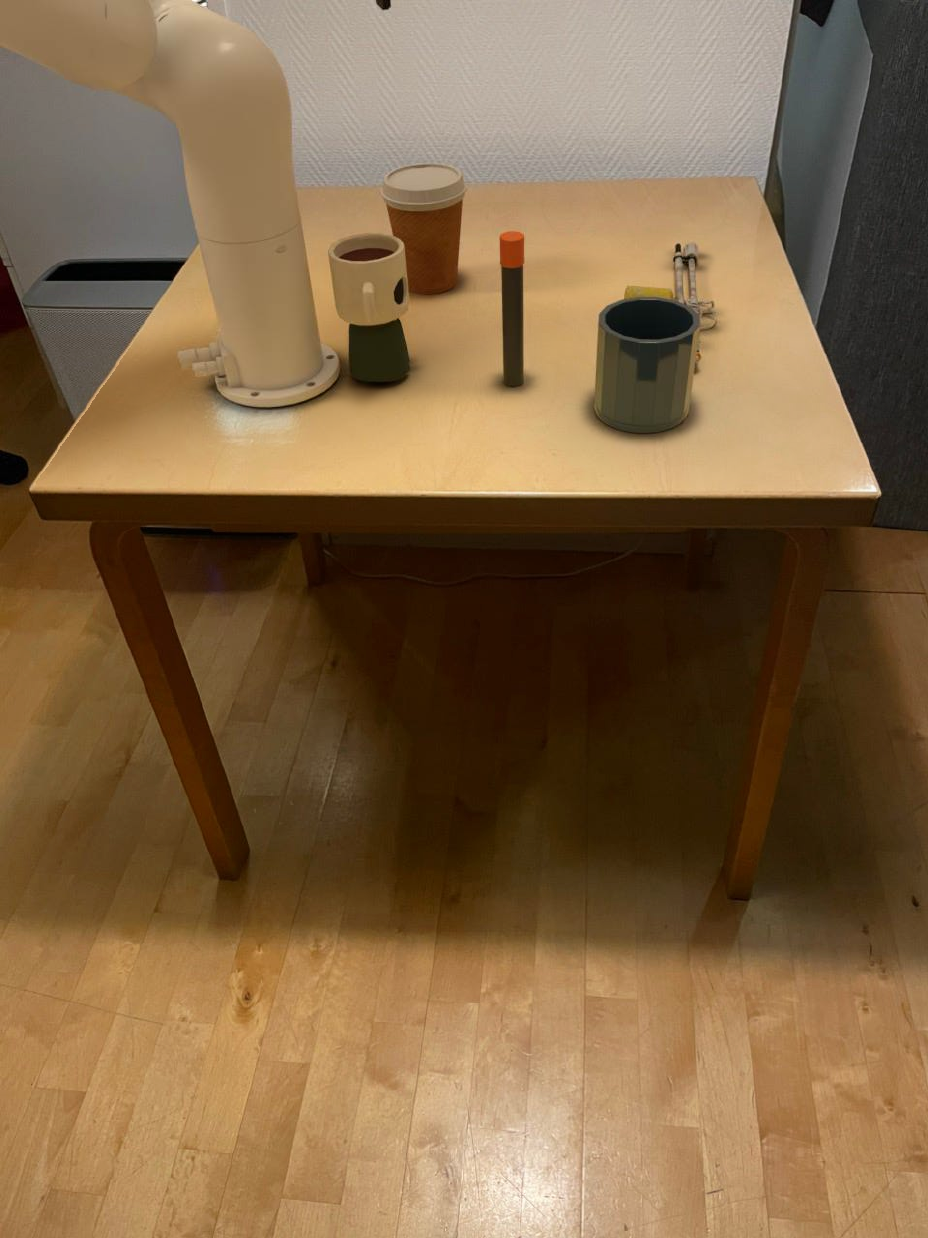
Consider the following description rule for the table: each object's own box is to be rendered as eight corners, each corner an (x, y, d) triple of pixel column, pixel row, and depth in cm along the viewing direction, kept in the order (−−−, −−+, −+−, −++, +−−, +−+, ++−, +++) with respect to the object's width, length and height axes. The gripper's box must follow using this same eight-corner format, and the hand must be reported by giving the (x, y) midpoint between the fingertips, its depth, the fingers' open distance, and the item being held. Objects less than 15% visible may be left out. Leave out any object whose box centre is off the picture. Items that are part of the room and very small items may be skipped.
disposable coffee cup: (483, 271, 115) (480, 165, 107) (449, 305, 109) (443, 196, 101) (412, 261, 118) (404, 157, 110) (375, 293, 112) (363, 186, 104)
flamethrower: (618, 368, 96) (720, 377, 95) (621, 343, 94) (726, 351, 93) (626, 253, 117) (710, 259, 116) (629, 231, 116) (714, 237, 115)
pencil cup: (614, 440, 88) (621, 349, 82) (580, 393, 94) (584, 305, 88) (704, 423, 89) (717, 332, 83) (664, 377, 96) (674, 290, 89)
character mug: (416, 398, 95) (405, 269, 86) (343, 404, 95) (325, 274, 86) (414, 345, 103) (403, 221, 94) (347, 350, 103) (330, 226, 94)
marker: (506, 388, 95) (503, 242, 85) (499, 378, 97) (496, 232, 87) (527, 384, 96) (527, 238, 86) (520, 374, 97) (519, 229, 87)
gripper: (516, -270, 78) (517, -18, 89) (302, -256, 75) (332, 2, 87) (546, -270, 72) (544, -2, 84) (317, -255, 69) (348, 20, 81)
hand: (436, 0), depth 85 cm, fingers open, 9 cm apart
